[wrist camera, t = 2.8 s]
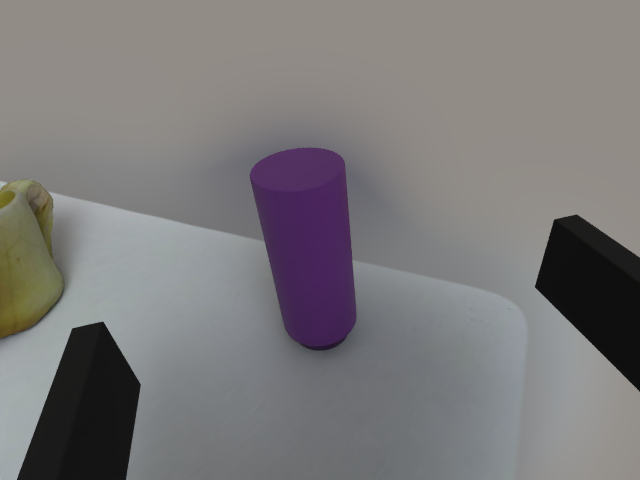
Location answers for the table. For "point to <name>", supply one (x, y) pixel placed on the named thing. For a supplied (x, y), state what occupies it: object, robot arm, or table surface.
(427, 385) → the table surface
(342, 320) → the cylinder
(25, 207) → the mug
